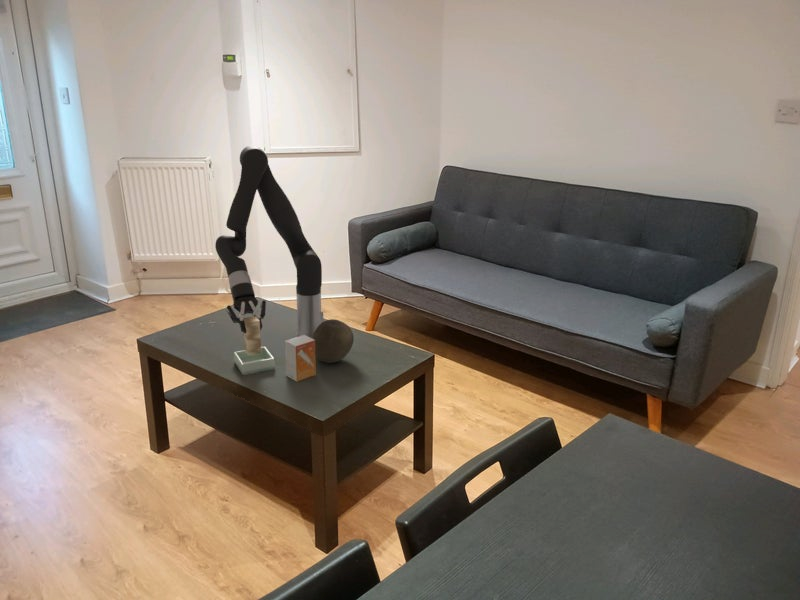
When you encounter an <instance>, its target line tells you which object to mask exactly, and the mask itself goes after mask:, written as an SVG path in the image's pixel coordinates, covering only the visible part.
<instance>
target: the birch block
mask: <svg viewBox="0 0 800 600" xmlns="http://www.w3.org/2000/svg"><path fill="white" fill-rule="evenodd" d="M243 321H244V323H245V327H246V333H243V342H244V350H245V351H246V353H247V354H248V355H254V354H259V353H261V347H262V343H261V340H262V339H261V331H260V321H259V319H258V318H257V317H256V316H248V317H243Z"/></svg>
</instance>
